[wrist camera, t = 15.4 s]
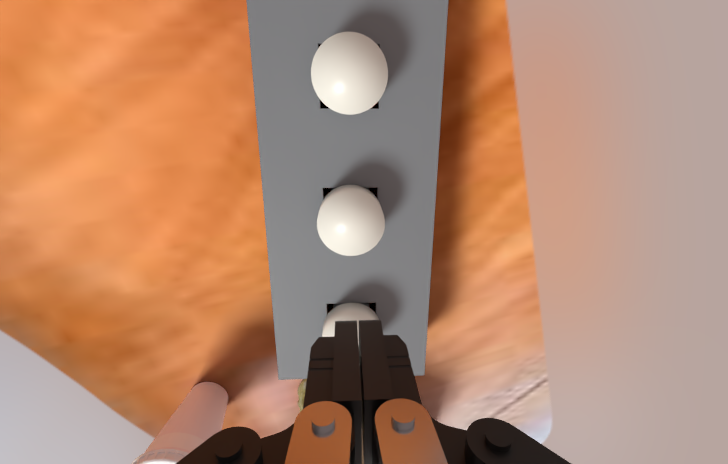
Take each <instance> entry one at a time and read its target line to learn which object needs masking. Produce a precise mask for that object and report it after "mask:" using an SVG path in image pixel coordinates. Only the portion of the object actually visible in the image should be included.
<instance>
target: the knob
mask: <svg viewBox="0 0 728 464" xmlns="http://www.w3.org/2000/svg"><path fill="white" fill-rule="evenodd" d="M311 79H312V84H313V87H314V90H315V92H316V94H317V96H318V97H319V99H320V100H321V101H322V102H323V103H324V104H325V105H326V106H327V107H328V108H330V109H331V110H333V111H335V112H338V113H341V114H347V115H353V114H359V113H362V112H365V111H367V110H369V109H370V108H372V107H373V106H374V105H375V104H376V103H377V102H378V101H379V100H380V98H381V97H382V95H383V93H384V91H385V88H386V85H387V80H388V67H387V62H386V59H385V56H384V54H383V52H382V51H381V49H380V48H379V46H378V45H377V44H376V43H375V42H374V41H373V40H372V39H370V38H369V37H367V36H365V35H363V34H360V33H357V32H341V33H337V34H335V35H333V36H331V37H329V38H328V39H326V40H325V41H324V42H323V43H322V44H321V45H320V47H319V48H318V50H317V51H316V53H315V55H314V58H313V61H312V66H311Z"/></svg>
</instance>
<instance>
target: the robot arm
mask: <svg viewBox="0 0 728 464" xmlns="http://www.w3.org/2000/svg"><path fill="white" fill-rule="evenodd" d="M362 438H363V456H364V464H571V463H569V462H567V461H566V460H565V459H563V458H561V457H560V456H558V455H557V454H555V453H554V452H552V451H551V450H549V449H548V448H546V447H544V446H543V445H542V444H540V443H539V442H537V441H535V440H534V439H532V438H531V437H529V436H528V435H526V434H525V433H523V432H522V431H520V430H519V429H517V428H516V427H514V426H512V425H511V424H509V423H507V422H505V421H502V420H499V419H494V418H483V419H479V420H476V421H474V422H473V423H472V424H471V425H470V426H469V428H468V429H467V431H466V430H462V429H458V428H454V427H450V426H446V425H444V424H441V423H439V422H437V421H436V420H434V419H433V418H431V417H430V415H429V413H428V411H427V410H426V409H425V408H424V407H423V406H422V404H421V400H420V396H419V393H418V389H417V385H416V381H415V377H414V373H413V369H412V366H411V361H410V358H409V353H408V349H407V345H406V344H405V343H404V341H403V340H402V339H401V338H400V337H399V336H398V335H383V330H382V324H381V320H359V346H358V329H357V320H354V321H335V335H334V337H319V338H318V339H317V340H316V341H315V343H314V344H313V345H312V347H311V351H310V360H309V366H308V374H307V382H306V389H305V397H304V405H303V410H302V411H301V412H300V413H299V414H298V416H297V417H296V420H295V423H294V424H293V425H291V426H290V427H289V428H287V429H286V430H284V431H282V432H279V433H277V434H274V435H271V436H268V437H264V438H261V439H260V437H259V436H258V434H257V433H256V432H255V431H253V430H252V429H249V428H246V427H231V428H227V429H224V430H221V431H219V432H217V433H216V434H214V435H213V436H211V437H210V438H208V439H207V440H206V441H205V442H203V443H202V444H201V445H199V446H198V447H197V448H195V449H194V450H193V451H192V452H190V453H189V454H188V455H186V456H185V457H184V458H182V459H181V460H180V461H179V462H177V463H176V464H362Z"/></svg>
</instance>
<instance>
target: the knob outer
mask: <svg viewBox="0 0 728 464" xmlns="http://www.w3.org/2000/svg"><path fill="white" fill-rule="evenodd" d="M354 320H357V329H358V346H359V320H379V319H378V317H377V315H376V313H375V312H374V311H373V310H372V309H371V308H369V303H340V304H334V305H333V309H332V310H331V311H330V312H329V313H328V315H327V316H326V318H325V320H324V324H323V332H322V337H334V335H335V321H354Z"/></svg>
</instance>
